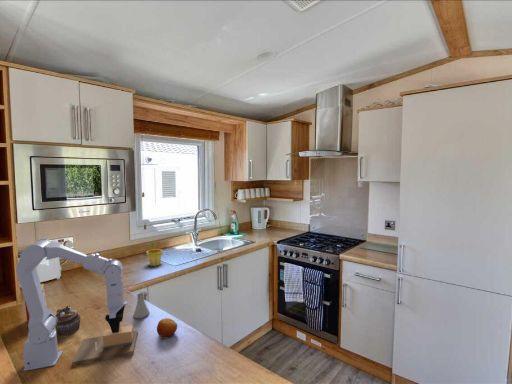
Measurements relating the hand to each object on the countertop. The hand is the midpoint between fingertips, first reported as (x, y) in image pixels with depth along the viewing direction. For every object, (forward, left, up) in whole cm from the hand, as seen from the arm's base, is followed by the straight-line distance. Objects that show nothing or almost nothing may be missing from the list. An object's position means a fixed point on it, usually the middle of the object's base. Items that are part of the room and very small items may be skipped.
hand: (117, 326), depth 112 cm
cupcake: (-23, +19, -8) cm, 31 cm away
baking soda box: (-39, +31, -8) cm, 50 cm away
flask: (+6, +23, -8) cm, 25 cm away
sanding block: (0, 0, -7) cm, 7 cm away
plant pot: (+8, +94, -8) cm, 95 cm away
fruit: (+18, +2, -8) cm, 20 cm away
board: (-4, 0, -8) cm, 9 cm away
